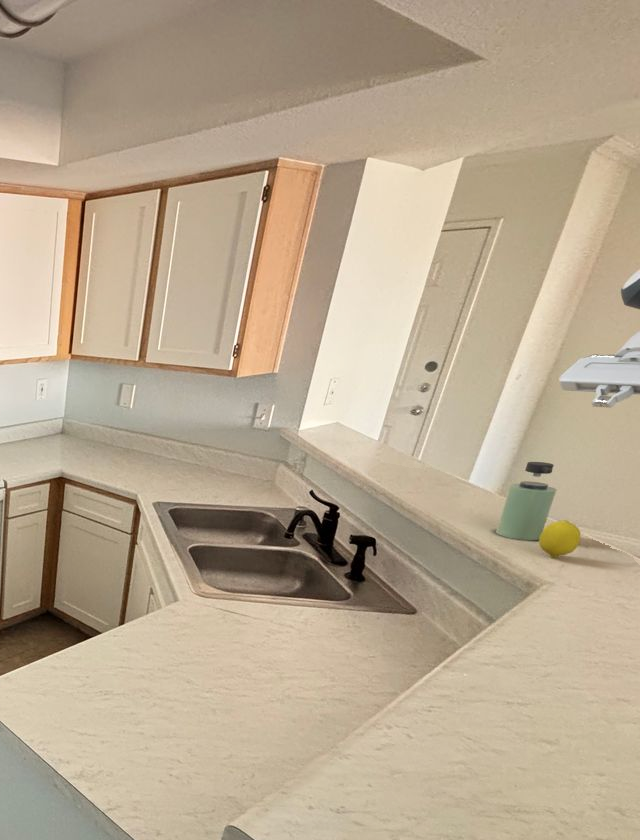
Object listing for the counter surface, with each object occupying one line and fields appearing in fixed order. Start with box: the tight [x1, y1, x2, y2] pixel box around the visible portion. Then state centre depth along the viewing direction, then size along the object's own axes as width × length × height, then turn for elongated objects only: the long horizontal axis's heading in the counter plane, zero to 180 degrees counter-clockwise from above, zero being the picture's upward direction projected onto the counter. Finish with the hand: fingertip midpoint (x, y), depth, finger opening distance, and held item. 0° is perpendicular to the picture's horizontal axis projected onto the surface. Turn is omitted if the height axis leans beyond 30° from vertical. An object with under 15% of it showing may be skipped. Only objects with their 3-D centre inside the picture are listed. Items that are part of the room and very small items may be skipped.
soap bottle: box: [495, 480, 557, 541], centre depth 130 cm, size 7×7×12 cm
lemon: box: [538, 519, 581, 559], centre depth 118 cm, size 6×6×8 cm
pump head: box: [524, 461, 554, 478], centre depth 126 cm, size 4×7×3 cm, turn 153°
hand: (600, 405), depth 126 cm, fingers closed
